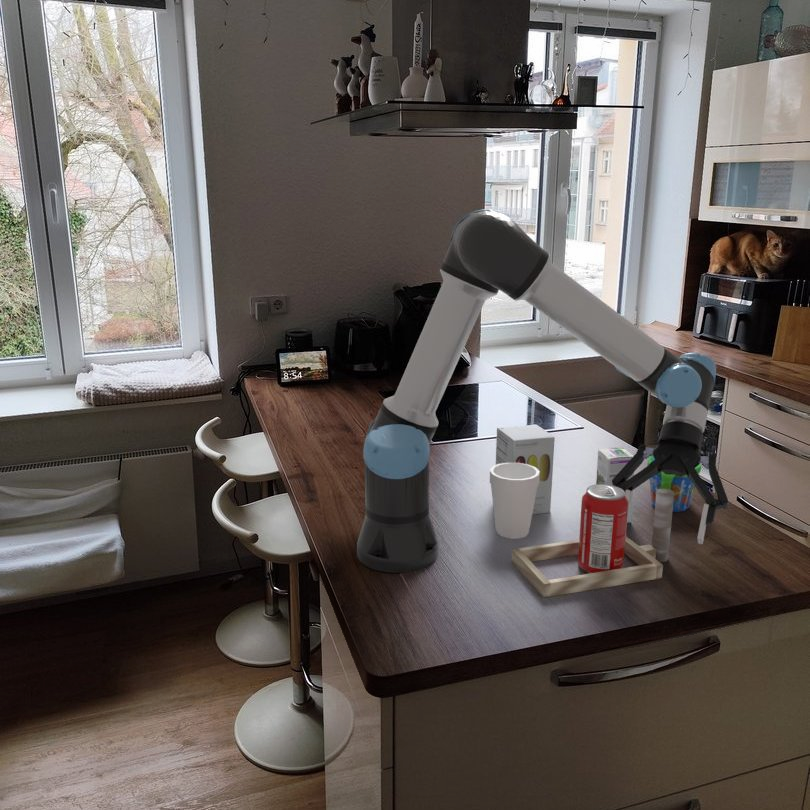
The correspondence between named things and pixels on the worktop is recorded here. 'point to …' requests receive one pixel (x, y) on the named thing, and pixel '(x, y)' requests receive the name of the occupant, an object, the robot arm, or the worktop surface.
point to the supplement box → (529, 457)
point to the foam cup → (513, 497)
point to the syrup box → (612, 467)
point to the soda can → (602, 528)
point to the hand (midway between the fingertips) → (659, 533)
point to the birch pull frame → (642, 555)
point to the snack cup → (673, 488)
